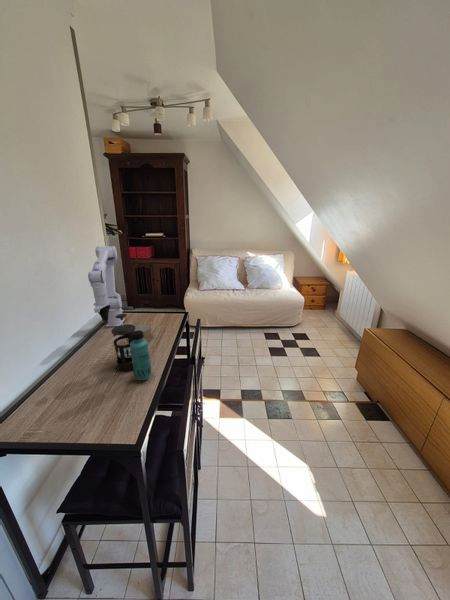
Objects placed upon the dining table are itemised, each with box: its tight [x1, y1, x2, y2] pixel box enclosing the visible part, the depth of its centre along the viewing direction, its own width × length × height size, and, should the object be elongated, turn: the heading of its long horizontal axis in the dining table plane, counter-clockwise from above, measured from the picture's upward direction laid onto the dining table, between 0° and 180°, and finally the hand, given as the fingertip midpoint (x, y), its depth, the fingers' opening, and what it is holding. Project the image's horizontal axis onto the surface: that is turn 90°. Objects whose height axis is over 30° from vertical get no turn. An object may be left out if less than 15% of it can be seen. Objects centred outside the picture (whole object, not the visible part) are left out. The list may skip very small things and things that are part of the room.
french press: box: [111, 313, 136, 373], centre depth 101 cm, size 12×9×23 cm
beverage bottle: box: [130, 330, 152, 381], centre depth 93 cm, size 6×7×20 cm
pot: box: [134, 323, 153, 342], centre depth 125 cm, size 12×9×6 cm
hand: (105, 320), depth 125 cm, fingers closed
